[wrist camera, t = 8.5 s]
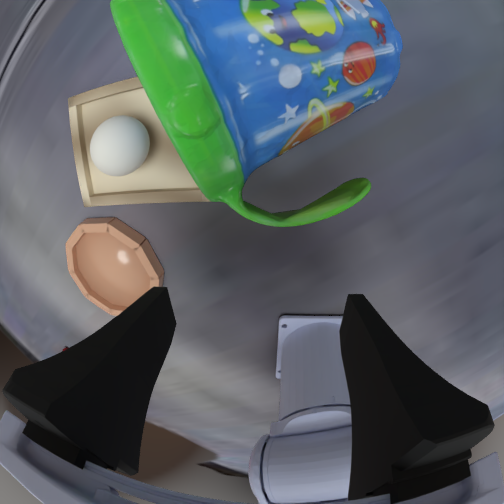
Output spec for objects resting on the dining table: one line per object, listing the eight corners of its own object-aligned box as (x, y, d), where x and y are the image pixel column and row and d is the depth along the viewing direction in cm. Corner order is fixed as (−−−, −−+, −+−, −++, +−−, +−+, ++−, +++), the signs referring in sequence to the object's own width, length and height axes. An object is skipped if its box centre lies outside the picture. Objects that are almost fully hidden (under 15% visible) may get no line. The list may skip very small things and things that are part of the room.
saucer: (174, 314, 25) (170, 323, 24) (90, 303, 26) (85, 310, 25) (153, 216, 20) (146, 222, 19) (60, 219, 21) (53, 225, 20)
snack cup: (266, -22, 12) (128, 25, 12) (317, -112, 2) (73, -64, 2) (359, 160, 18) (227, 223, 18) (481, 183, 8) (258, 313, 8)
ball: (148, 176, 18) (119, 194, 15) (105, 155, 17) (72, 170, 14) (168, 124, 16) (139, 131, 13) (122, 106, 16) (87, 110, 12)
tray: (218, 195, 19) (214, 201, 18) (92, 201, 20) (84, 207, 19) (211, 67, 14) (206, 64, 13) (77, 97, 16) (68, 98, 14)
